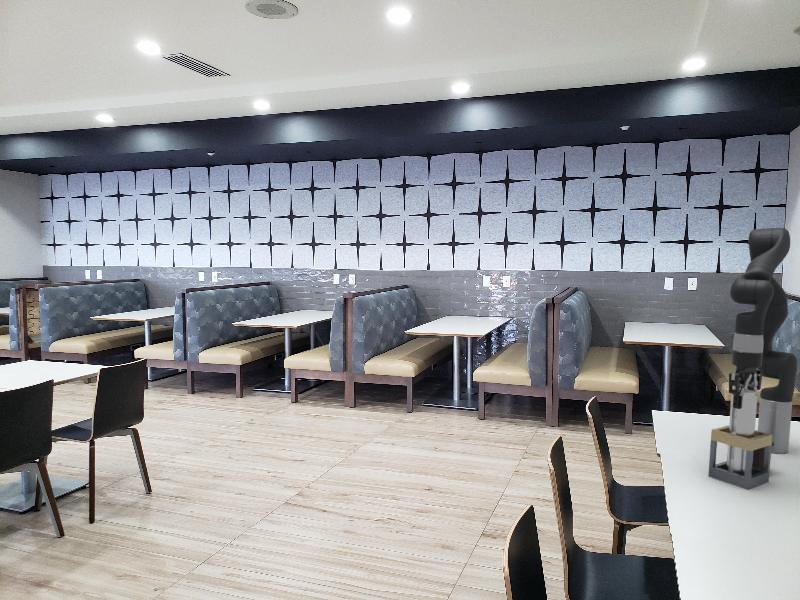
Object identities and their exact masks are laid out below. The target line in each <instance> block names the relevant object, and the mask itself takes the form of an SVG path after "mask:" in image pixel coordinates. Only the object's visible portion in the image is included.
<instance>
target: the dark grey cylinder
mask: <svg viewBox="0 0 800 600" xmlns="http://www.w3.org/2000/svg"><path fill="white" fill-rule="evenodd" d="M772 446H774V443H773V442H772ZM771 450H772V447H771ZM764 453H765V447H763V448H759V449H756V450H753V463H752V467H755V468H759V469H762V470H763V466H764Z"/></svg>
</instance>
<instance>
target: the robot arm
mask: <svg viewBox="0 0 800 600" xmlns="http://www.w3.org/2000/svg"><path fill="white" fill-rule="evenodd" d="M790 248H791V235H790V231H789V230H788V229H787V228H785V227H769V228H768V227H767V228H766V227H765V228H755V229H751V231H750V232H749V234H748V250H749V256H750V262H749V263H748V265H747V267H746V269H745V271H744V272H743V273H742V274H741V275H740V276H739V277H737V278H736V279H735V280H734V281H733V283H732V284H731V287H730V292H729V293H730V294H729V295H730V298H731V300H732V301H734V302H735V303H737V304H739V305H740V304H741V305H753V306H754V310H752V311H745V312H744V311H743V312H739V313H738V314H736V316H735V317H736V318H735V327H734V337H733V341H732V355H731V356H732V357H731V364H732V365H733V366H735V367H736V368H735V371H734V372H729V374H728V393H729V394H731V395H732V394H733V395H734V396H733V407H734V408H737V409H741V408H742V398H743V396H742V395H743V392H744V390H745V389H748V390H753V391H755V392H756V394H757V393H758V391H760V392H759V393H760V394H759V397H760V398H759V406H758V407H759V409H758V418H757V419H758V422H757V423H758V425H757V431H761V432H764V433H768V434H772V442H773V443H774V446H772V450H771V454H772V453H774V454H787V453H788V452H789V445H790V436H791V435H790V434H791V425H792V423H791V421H792V408H793V398H794V393H795V388H796V387H795V386H796V380H797V373H798V359H797V356H796V355H795V354H794V353H790V352H784V351H778V350H773V339H774V337H775V335H776V334H777V332H778V331H779V330H780V328H781V327H782V325H784V323H785V322H786V319H787V317H788V314H789V307H788V305H789V304H788V295H787V293H786V291H785V290H784V288H783V287H782V286H781V284H780V283H779V282H778V281H777V280H776V279H775V278H774V277H773V276H774V273H775V271H776V270H777V268H778V266H780V264H781V263H782V262H783V260H785V258H786V257H787V255H788V254H789V252H790ZM763 378H770V379H773V380H774V379H775V380H778V384H777V385H775V386H770V387H769V386H768V387H764V388H762V381H763ZM761 388H762V389H761Z"/></svg>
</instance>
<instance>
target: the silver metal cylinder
mask: <svg viewBox="0 0 800 600" xmlns="http://www.w3.org/2000/svg"><path fill="white" fill-rule="evenodd" d="M730 396H731V397H730V398H731V399H730V409H729V410H730V412H729V425H728V426H729V433H730V434H734V435H737V436H741V437H745V438H748V439H750V438H754V436H755V430H756V422H757V421H756V420H757V406H758V394H757V393H756V392H755V391H753V390H748V389H745V390H744V392H743V395H742V396H743V398H742V408H741V409H737V408H734V407H733V396H734V395H733V394H732V393H731V395H730ZM726 453H727V454H726V461H727V466H726V471H729V472H732V473H736V474H739V475H742V476H744V475H745V461H746V450H745V449H741V448H738V447H734V446H731V445H727V452H726ZM752 463H753V458H752ZM751 475H752V471H751Z"/></svg>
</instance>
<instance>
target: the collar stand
mask: <svg viewBox="0 0 800 600" xmlns="http://www.w3.org/2000/svg"><path fill="white" fill-rule="evenodd" d="M718 443H720V444H724V445H727V446H728V445H731V446H734V447H738V448H741V449H745V450H746V461H745V475H744V476H742V475H739V474H736V473H732V472H729V471H726V466H727V460H726V461H723V462H719V463H716V462H717V447H718ZM709 447H710V449H709V461H708V462H709V463H708V464H709V465H708V477H709V478H713V479H715V480H718V481H721V482H724V483H727V484H729V483H730V485H733V486H736V487H739V488H741V489H744V490H751V489H754V488H757V487H758V486H761V485H764V484H767V483H769V482H770V471H771V459H772V452H771V447H772V434H768V433H764V432H761V431H758V429H755V436H754V438H750V439H748V438H745V437H741V436H737V435H734V434H730V433H729V425H725V426H721V427H718V428H713V429H711V432H710V446H709ZM763 447H765V453H764V466H763V470H762V469H759V468H755V467H752V458H753V450H756V449H759V448H763ZM751 471H752V475H751Z"/></svg>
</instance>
